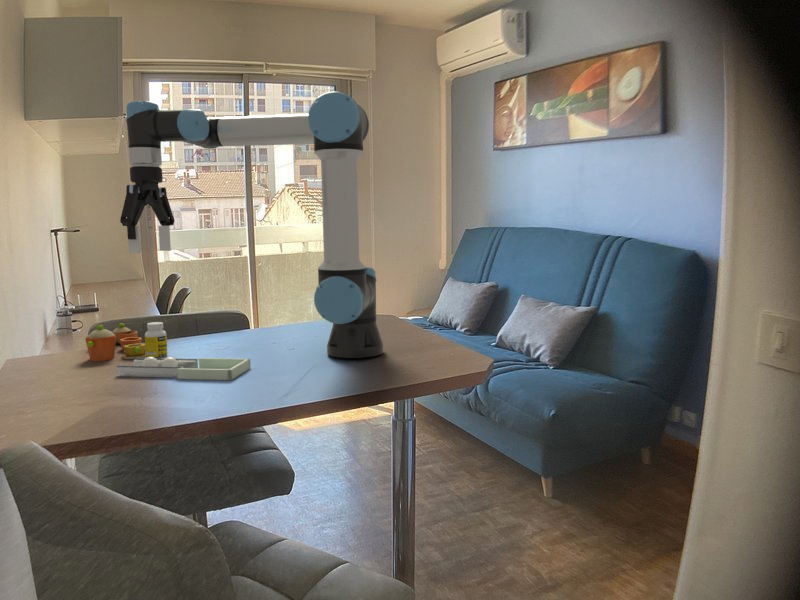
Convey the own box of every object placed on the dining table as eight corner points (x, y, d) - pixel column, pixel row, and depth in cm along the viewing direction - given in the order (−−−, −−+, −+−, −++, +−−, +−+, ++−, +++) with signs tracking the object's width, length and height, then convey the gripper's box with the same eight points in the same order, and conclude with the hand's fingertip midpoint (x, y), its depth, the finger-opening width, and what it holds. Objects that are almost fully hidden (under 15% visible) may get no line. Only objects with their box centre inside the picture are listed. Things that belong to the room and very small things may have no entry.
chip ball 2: (181, 370, 155) (180, 355, 154) (173, 374, 151) (172, 359, 150) (166, 370, 155) (165, 355, 155) (158, 374, 151) (157, 358, 151)
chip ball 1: (162, 370, 155) (161, 355, 155) (154, 374, 152) (153, 358, 151) (147, 370, 156) (146, 355, 155) (139, 373, 152) (138, 358, 152)
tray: (250, 368, 156) (250, 358, 156) (231, 380, 145) (230, 370, 144) (200, 367, 158) (200, 357, 158) (177, 379, 146) (177, 369, 146)
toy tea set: (152, 359, 169) (149, 324, 168) (87, 366, 162) (85, 329, 161) (141, 343, 192) (139, 312, 191) (84, 349, 185) (82, 316, 184)
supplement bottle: (160, 362, 165) (158, 325, 164) (141, 361, 166) (139, 324, 165) (171, 357, 170) (169, 321, 169) (153, 356, 171) (151, 321, 170)
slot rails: (198, 368, 157) (197, 358, 156) (180, 377, 148) (180, 367, 148) (137, 367, 159) (137, 357, 159) (117, 376, 150) (116, 365, 150)
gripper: (159, 170, 170) (163, 249, 173) (100, 162, 146) (106, 254, 148) (185, 170, 169) (189, 249, 171) (129, 161, 144) (135, 254, 147)
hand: (150, 252), depth 160 cm, fingers open, 13 cm apart
